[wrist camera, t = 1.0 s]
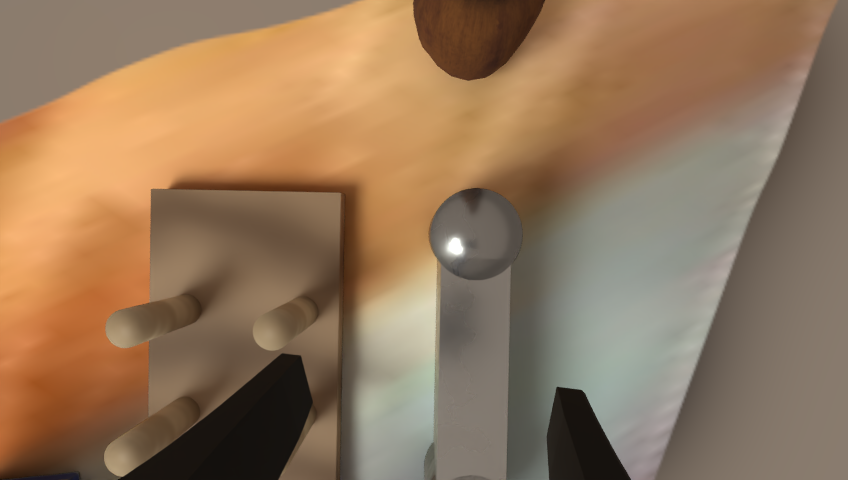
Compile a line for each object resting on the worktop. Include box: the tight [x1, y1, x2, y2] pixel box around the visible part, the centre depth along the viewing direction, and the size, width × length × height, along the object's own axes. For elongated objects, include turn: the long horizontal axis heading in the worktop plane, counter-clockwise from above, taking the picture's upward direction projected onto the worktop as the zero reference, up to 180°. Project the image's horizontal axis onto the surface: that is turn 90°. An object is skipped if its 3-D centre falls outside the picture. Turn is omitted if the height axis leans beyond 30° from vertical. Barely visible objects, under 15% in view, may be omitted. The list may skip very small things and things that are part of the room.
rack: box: [104, 189, 345, 480], centre depth 20 cm, size 20×11×6 cm, turn 179°
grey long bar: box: [424, 188, 523, 480], centre depth 21 cm, size 19×5×4 cm, turn 179°
